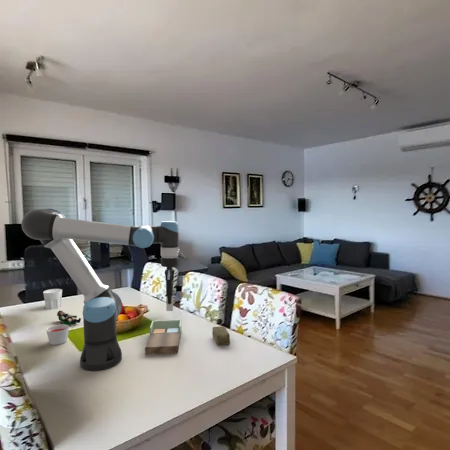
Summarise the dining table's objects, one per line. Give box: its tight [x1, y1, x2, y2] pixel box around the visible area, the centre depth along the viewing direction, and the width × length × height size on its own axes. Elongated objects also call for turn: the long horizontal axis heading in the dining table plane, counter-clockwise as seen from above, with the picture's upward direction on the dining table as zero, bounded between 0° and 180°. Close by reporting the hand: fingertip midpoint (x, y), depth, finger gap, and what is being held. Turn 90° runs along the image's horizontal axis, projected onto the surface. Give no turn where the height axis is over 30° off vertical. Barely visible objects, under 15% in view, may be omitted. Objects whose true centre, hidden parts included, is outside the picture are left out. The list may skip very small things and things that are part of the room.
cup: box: [42, 288, 63, 310], centre depth 196 cm, size 10×10×10 cm
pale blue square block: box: [167, 328, 179, 333], centre depth 149 cm, size 5×5×2 cm
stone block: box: [211, 325, 231, 346], centre depth 144 cm, size 6×12×5 cm, turn 14°
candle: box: [45, 324, 70, 346], centre depth 145 cm, size 9×9×6 cm
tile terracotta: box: [153, 329, 165, 334], centre depth 148 cm, size 5×5×2 cm
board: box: [144, 333, 181, 355], centre depth 138 cm, size 13×14×3 cm
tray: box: [149, 319, 183, 340], centre depth 150 cm, size 14×9×6 cm, turn 95°
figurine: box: [56, 310, 82, 327], centre depth 169 cm, size 8×6×15 cm
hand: (169, 310), depth 143 cm, fingers closed
